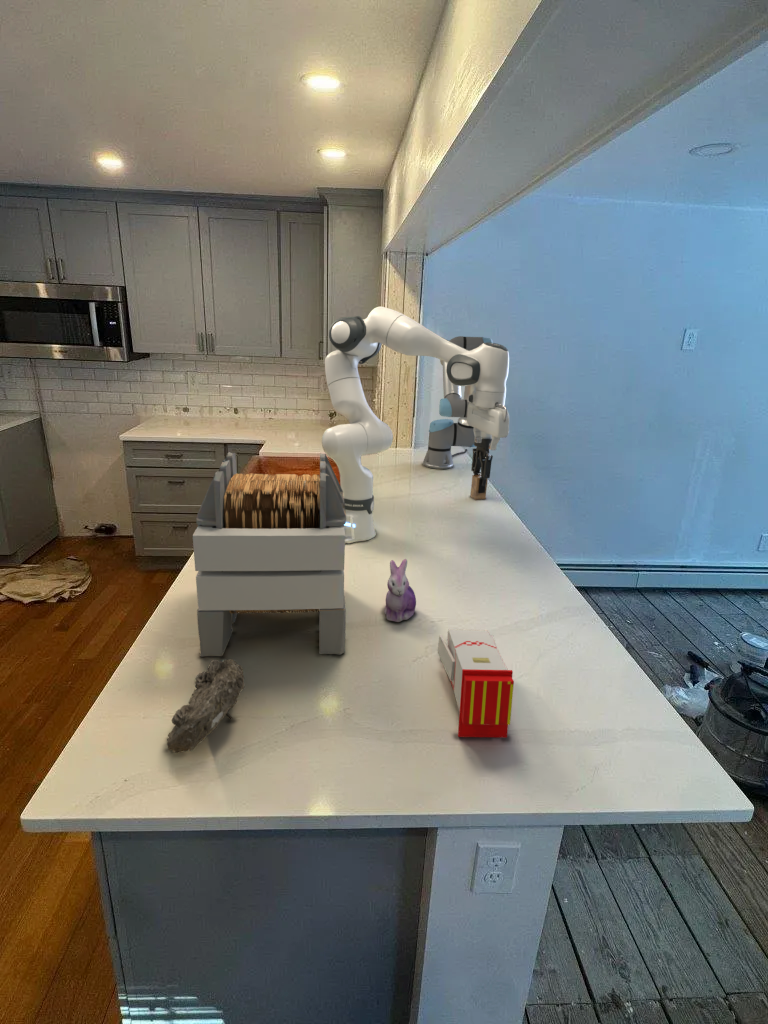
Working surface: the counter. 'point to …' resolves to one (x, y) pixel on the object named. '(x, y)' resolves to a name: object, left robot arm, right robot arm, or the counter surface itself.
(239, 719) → the counter surface
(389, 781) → the counter surface
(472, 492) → the brown wooden block
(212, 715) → the fossil
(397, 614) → the figurine
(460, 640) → the toy
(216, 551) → the transformer
